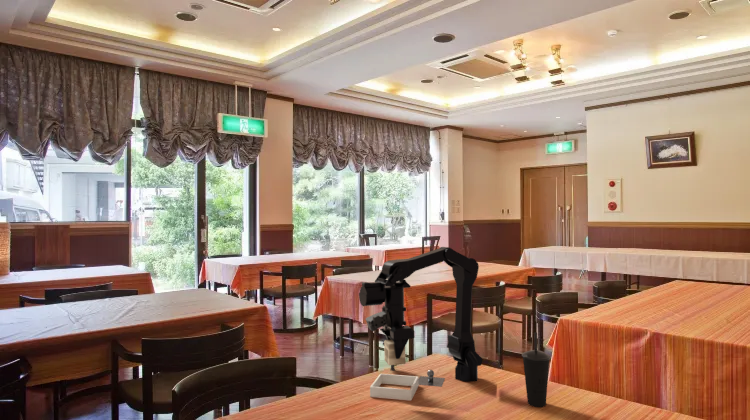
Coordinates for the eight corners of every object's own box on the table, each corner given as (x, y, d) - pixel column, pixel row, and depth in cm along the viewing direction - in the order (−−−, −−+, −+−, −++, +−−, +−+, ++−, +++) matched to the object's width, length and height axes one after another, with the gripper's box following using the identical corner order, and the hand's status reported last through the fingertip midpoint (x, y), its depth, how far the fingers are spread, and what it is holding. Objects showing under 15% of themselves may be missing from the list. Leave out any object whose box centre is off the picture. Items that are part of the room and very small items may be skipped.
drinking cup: (516, 401, 135) (515, 330, 136) (537, 397, 138) (536, 328, 139) (535, 411, 128) (534, 336, 129) (557, 406, 131) (556, 334, 132)
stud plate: (445, 381, 152) (444, 367, 152) (441, 390, 144) (441, 375, 144) (420, 379, 154) (420, 365, 154) (415, 388, 146) (415, 373, 146)
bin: (418, 389, 145) (418, 376, 145) (411, 404, 134) (411, 390, 134) (380, 386, 148) (380, 373, 148) (370, 400, 137) (370, 386, 137)
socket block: (400, 358, 144) (400, 339, 144) (405, 363, 139) (405, 343, 139) (384, 360, 143) (384, 340, 143) (389, 365, 138) (388, 344, 138)
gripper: (360, 299, 148) (361, 350, 148) (376, 310, 130) (377, 368, 130) (394, 297, 151) (395, 347, 151) (414, 308, 133) (415, 364, 133)
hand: (394, 356), depth 141 cm, fingers closed on socket block, 5 cm apart
